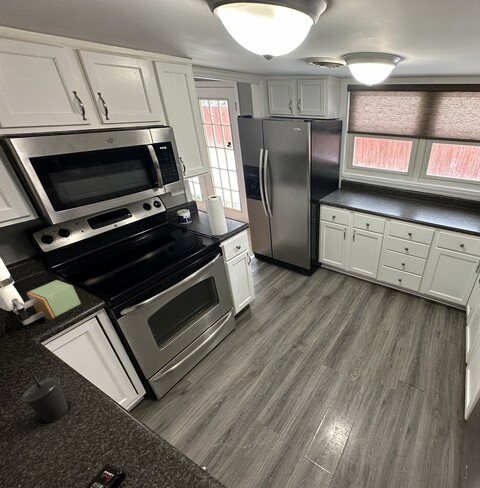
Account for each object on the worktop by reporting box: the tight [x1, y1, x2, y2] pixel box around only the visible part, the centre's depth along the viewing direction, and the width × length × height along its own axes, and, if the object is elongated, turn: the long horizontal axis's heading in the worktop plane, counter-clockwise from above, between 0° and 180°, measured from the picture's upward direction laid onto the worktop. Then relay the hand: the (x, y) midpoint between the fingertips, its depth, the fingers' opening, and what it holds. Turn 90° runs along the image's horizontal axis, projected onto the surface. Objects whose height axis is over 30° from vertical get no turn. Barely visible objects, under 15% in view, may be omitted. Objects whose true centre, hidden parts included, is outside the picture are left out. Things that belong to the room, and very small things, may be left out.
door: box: [15, 291, 56, 326], centre depth 114 cm, size 8×12×13 cm, turn 69°
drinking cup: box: [21, 371, 69, 423], centre depth 77 cm, size 8×8×20 cm
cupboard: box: [28, 279, 82, 318], centre depth 122 cm, size 10×12×13 cm
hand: (19, 317), depth 112 cm, fingers open, 6 cm apart
